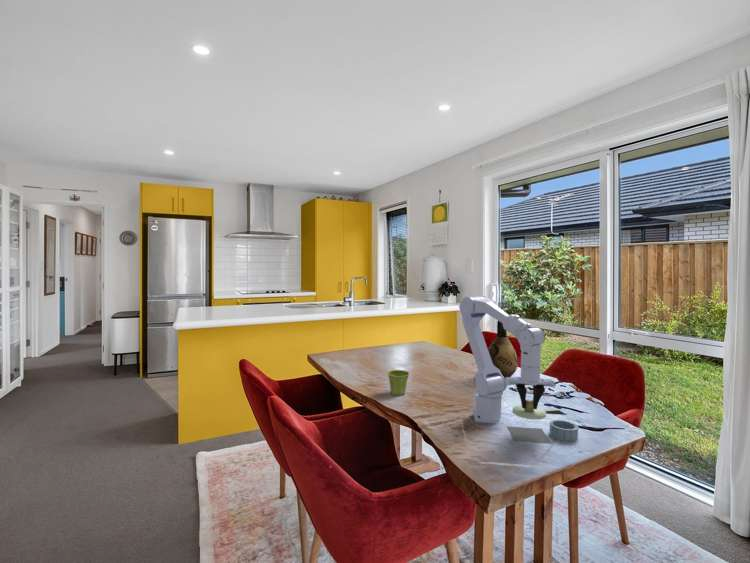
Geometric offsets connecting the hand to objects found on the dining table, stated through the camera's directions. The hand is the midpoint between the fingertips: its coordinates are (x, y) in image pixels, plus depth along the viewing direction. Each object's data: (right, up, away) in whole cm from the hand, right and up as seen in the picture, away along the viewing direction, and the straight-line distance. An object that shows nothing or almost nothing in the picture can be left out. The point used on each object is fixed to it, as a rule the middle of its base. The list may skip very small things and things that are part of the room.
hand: (529, 407), depth 128 cm
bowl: (+11, -9, 0) cm, 14 cm away
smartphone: (+18, -9, +16) cm, 26 cm away
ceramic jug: (+11, -7, +66) cm, 68 cm away
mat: (0, -9, 0) cm, 9 cm away
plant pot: (-39, -7, +42) cm, 58 cm away
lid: (0, -2, 0) cm, 2 cm away
